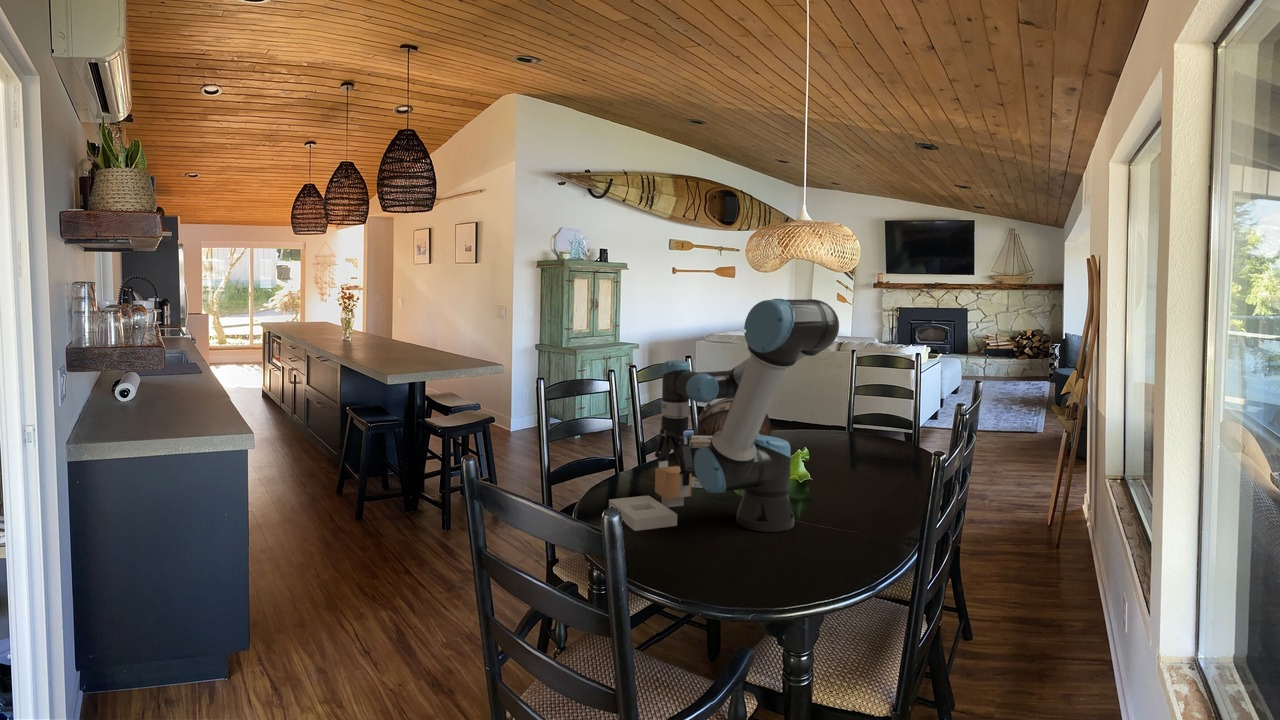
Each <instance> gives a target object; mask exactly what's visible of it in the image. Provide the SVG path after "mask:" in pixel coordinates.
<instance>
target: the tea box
mask: <svg viewBox="0 0 1280 720" xmlns="http://www.w3.org/2000/svg"><path fill="white" fill-rule="evenodd" d="M690 437H691V438H690V450H691V455H692V461H693V466H694V458H695V454H696V452H697V450H698V449H700V448H702V447H708V446H709V444H710V442H711V439H712V437H713V436H698V435H691V436H690ZM691 488H699V489H704V488H703V487H702V486H701V484H700V483H699V481H698V478H697V476H696V472H695V467H694V473H692V484H691Z"/></svg>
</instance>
